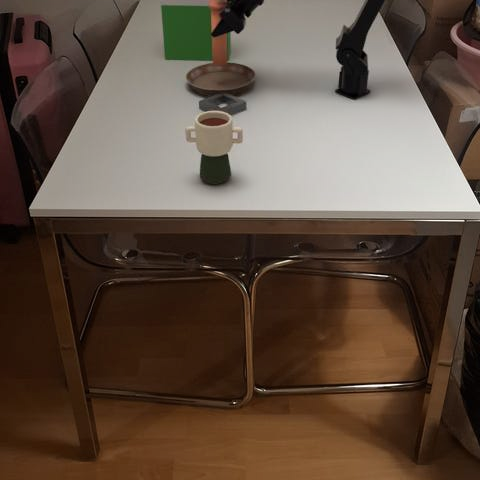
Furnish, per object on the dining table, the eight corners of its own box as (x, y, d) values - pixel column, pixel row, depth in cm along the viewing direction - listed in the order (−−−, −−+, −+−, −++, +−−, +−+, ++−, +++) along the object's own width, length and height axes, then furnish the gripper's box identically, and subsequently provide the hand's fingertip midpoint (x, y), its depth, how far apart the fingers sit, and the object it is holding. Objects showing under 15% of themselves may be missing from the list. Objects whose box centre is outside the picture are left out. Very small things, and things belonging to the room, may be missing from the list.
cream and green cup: (243, 169, 131) (243, 110, 123) (241, 188, 125) (241, 127, 118) (190, 168, 132) (187, 109, 124) (186, 186, 126) (182, 126, 118)
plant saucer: (193, 104, 157) (193, 92, 155) (180, 76, 171) (180, 65, 169) (263, 96, 160) (263, 84, 158) (245, 69, 174) (245, 58, 172)
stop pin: (232, 65, 161) (231, 4, 152) (213, 68, 159) (211, 6, 150) (226, 58, 164) (224, -2, 155) (208, 61, 163) (205, 0, 154)
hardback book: (165, 59, 180) (158, -31, 166) (169, 50, 186) (163, -38, 172) (228, 61, 179) (226, -30, 164) (230, 51, 185) (229, -37, 170)
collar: (246, 109, 154) (246, 101, 153) (221, 119, 150) (220, 111, 148) (224, 99, 159) (224, 91, 157) (199, 108, 154) (198, 101, 153)
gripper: (240, -49, 154) (197, -3, 162) (228, -29, 139) (181, 21, 147) (272, -14, 158) (228, 29, 166) (263, 9, 143) (216, 56, 151)
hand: (213, 33), depth 157 cm, fingers closed on stop pin, 4 cm apart
